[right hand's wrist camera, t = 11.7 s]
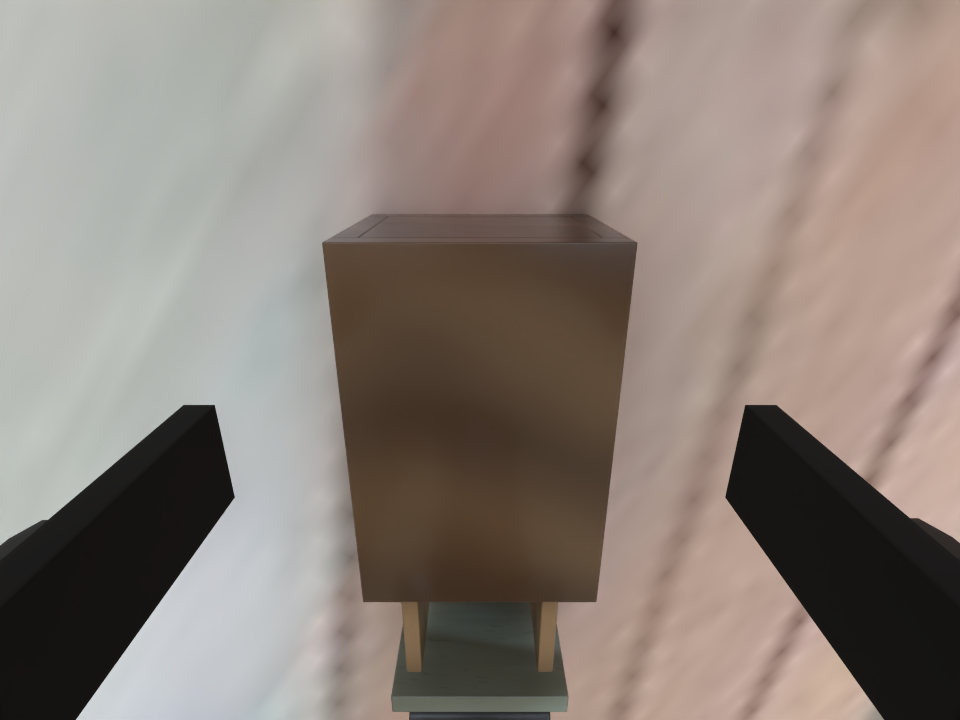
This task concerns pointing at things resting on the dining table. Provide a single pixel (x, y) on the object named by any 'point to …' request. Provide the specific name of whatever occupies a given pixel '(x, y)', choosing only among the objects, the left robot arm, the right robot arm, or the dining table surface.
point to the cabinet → (479, 400)
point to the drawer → (479, 661)
